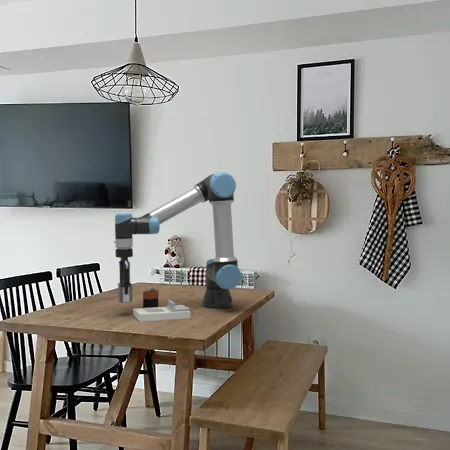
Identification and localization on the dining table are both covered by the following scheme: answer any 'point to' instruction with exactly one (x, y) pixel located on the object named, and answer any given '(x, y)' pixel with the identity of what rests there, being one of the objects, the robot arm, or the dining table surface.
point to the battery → (150, 298)
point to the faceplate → (159, 314)
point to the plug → (120, 292)
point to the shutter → (175, 306)
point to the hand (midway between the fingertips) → (125, 300)
